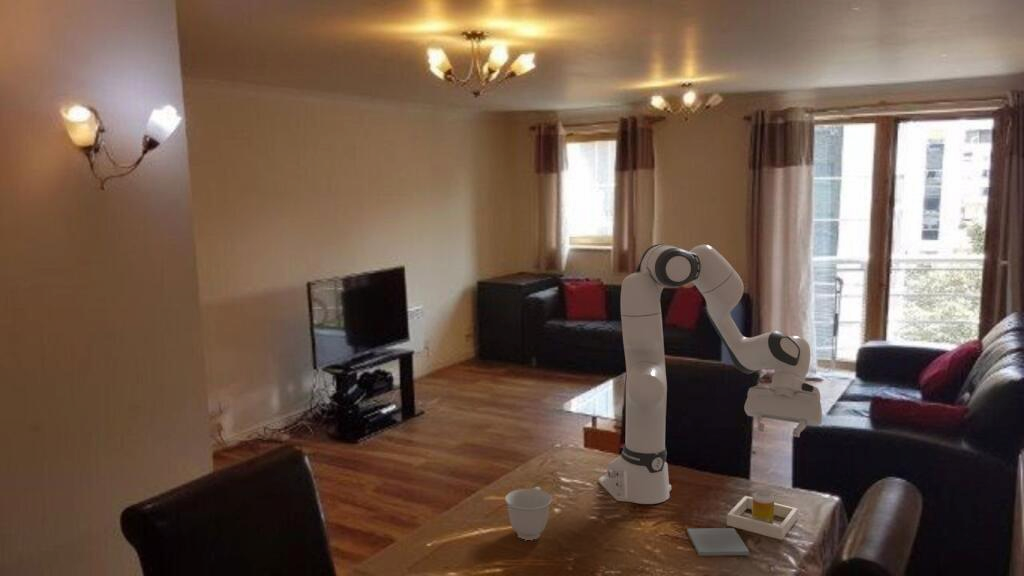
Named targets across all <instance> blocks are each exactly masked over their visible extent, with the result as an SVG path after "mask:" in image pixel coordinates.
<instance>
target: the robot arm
mask: <svg viewBox="0 0 1024 576" xmlns="http://www.w3.org/2000/svg"><path fill="white" fill-rule="evenodd" d="M689 283H692V284H694V286H695V287H696V288H697V290H698V291H699V292H700V294H701V295H702V296H703V298H704V300H705V313H706V315H707V317H708V319H709V322H711V325H712V327H713V328H714V330H715V332H716V333H717V335H718V336H719V338H720V340H721V341H722V343H723V345H724V347H725V348H726V350H727V352H728V354H729V357H730V359H731V363H732V364H733V366H734V367H735V368H736V369H737V370H738V371H740V372H741V373H743V374H747V375H750V374H753V373H757V372H760V371H761V370H766V369H770V368H771V369H773V371H774V373H773V375H772V380H771V384H770V386H760V385H754V386H751V387H749V389H748V391H747V398H746V400H745V403H744V409H743V410H744V411H745V414H746V415H747V417H754V418H755V420H756V422H757V425H756V426H757V427H756V429H757V431H758V432H764V431H765V430H764V429H765V424H764V423H761V421H763V419H768V420H775V421H781V422H788V423H795V424H799V425H798V427H797V428H796V427H794V428H793V430H792V431H793V432H792V435H793V437H794V438H795V437H796V438H800V437H801V435H800V434H801V432H803V431H804V429H806V427H807V426H808V425H809V426H813V427H814V426H815V427H818V426H819V425H820V424H822V418H823V408H822V404H821V392H820V389H819V387H817V386H816V385H813V384H810V383H808V382H806V376H807V374H808V372H809V369H810V365H811V364H810V363H811V348H810V345H809V342H808V341H807V340H806V339H804V338H802V337H801V336H797V335H787V334H786V333H784V332H783V331H780V330H774V331H769V332H766V333H762V334H759V335H756V336H752V337H746V336H744V335H743V334H742V333H741V331H740V330H739V328H738V326H737V324H736V322H735V321H734V319H733V318H732V316H731V311H732V310H733V309H734V308H735V307H736V306H737V305H738V304H739V302H740V301H741V299H742V297H743V295H744V290H745V288H744V287H745V286H744V283H743V279H742V278H741V276H740V275H739V273H738V272H737V271H736V270H735V268H733V266H732V265H731V264H730V262H728V260H727V259H725V257H724V256H723V254H721V253H719V252H718V251H717V250H716V249H715V248H714V247H713V246H711V245H709V244H699V245H697V246H694V247H692V248H691V249H690V250H689V251H688V250H685V249H683V248H678V246H677V247H676V246H674V245H671V244H662V243H660V244H654V245H652V246H650V247H649V248H647V249H646V250H645V251H644V253H643V254H642V256H641V258H640V262H639V264H638V266H637V268H636V272H633V273H630V274H629V275H626V276H625V277H624V279H623V280H622V282H621V287H620V288H621V289H620V318H621V329H622V332H621V333H622V343H623V350H624V357H625V358H624V359H625V369H626V380H625V381H626V382H625V439H624V440H625V443H621V444H620V447H619V449H622V451H621V455H619V456H618V457H615V458H614V459H613V460H611V461H609V463H608V464H607V467H606V474H603V475H602V476H600V477H599V478H598V483H599V484H600V485H601V486H602V487H603V488H604V489H605V490H606V491H607V492H608V493H609V494H610V495H611V497H613V498H614V499H615V500H616V501H618V502H630V503H635V504H640V505H655V504H660V503H663V502H665V501H667V500H669V499H670V497H671V496H670V491H671V490H672V485H671V483H670V482H669V481H670V480H669V468H668V463H667V462H666V461H667V455H668V454H667V453H668V452H667V447H666V419H667V418H666V416H667V396H668V394H667V392H668V383H667V382H668V381H667V375H666V374H667V373H666V370H667V369H666V360H665V359H666V358H665V346H664V345H665V344H664V332H663V317H662V307H661V306H662V305H661V295H662V292H663V290H664V288H665V287H667V288H680V287H683V286H685V285H687V284H689Z"/></svg>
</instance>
